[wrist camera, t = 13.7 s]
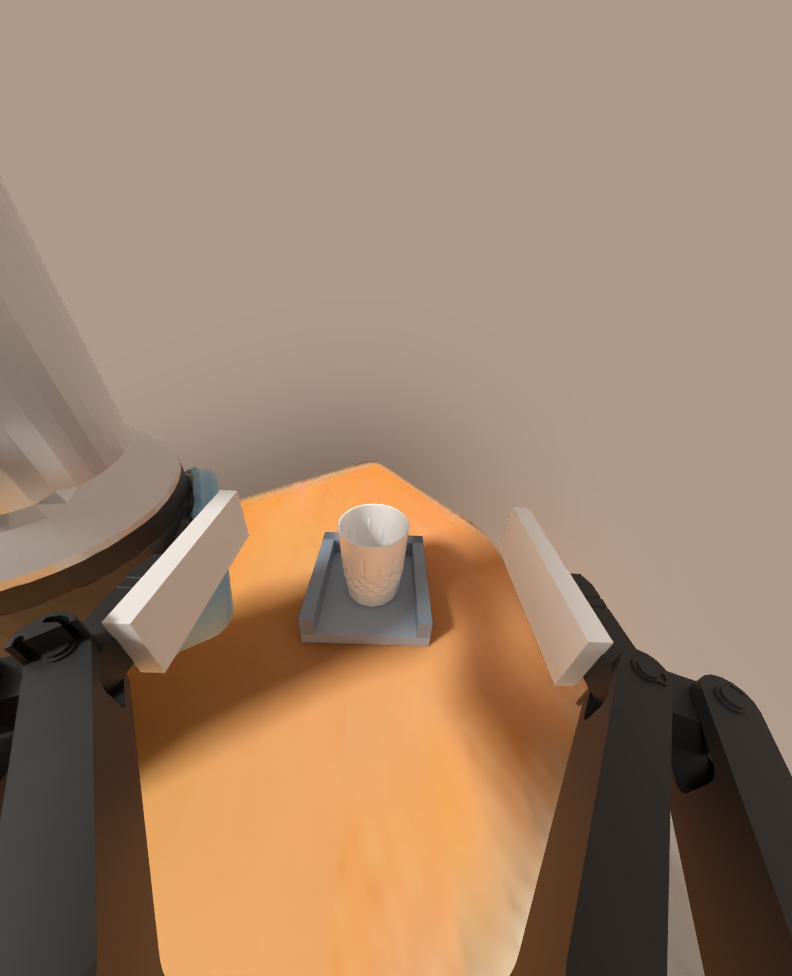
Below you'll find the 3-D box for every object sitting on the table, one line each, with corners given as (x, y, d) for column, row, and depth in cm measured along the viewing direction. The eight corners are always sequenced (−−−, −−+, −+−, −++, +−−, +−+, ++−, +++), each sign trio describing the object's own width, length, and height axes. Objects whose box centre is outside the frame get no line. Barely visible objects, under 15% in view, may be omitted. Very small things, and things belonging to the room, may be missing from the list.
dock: (428, 646, 33) (432, 624, 31) (301, 642, 32) (297, 619, 30) (419, 556, 45) (422, 536, 43) (327, 552, 44) (325, 532, 42)
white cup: (404, 613, 35) (410, 549, 29) (336, 610, 34) (331, 546, 29) (403, 563, 41) (408, 505, 36) (346, 561, 41) (344, 501, 36)
